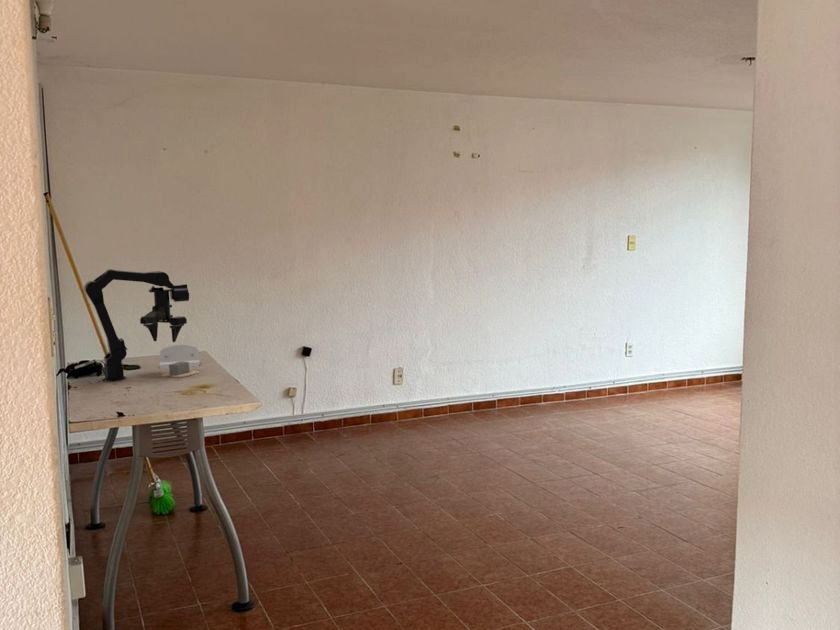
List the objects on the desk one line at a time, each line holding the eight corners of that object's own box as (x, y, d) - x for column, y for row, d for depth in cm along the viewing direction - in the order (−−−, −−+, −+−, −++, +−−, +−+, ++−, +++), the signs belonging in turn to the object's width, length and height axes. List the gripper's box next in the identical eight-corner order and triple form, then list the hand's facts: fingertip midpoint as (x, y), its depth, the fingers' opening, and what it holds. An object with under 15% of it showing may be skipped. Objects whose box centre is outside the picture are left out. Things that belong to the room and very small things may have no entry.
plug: (177, 375, 314) (169, 374, 315) (192, 370, 322) (184, 370, 324) (177, 365, 313) (169, 364, 314) (192, 360, 322) (184, 360, 323)
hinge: (158, 369, 330) (157, 345, 332) (159, 370, 334) (158, 347, 336) (200, 366, 334) (199, 342, 336) (200, 367, 339) (199, 344, 341)
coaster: (162, 376, 315) (162, 374, 315) (178, 371, 324) (178, 369, 324) (183, 377, 312) (183, 376, 311) (199, 372, 321) (198, 371, 321)
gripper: (129, 304, 313) (131, 344, 315) (168, 306, 306) (170, 346, 308) (148, 301, 323) (150, 339, 325) (186, 302, 316) (188, 341, 318)
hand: (164, 341), depth 319 cm, fingers open, 9 cm apart
